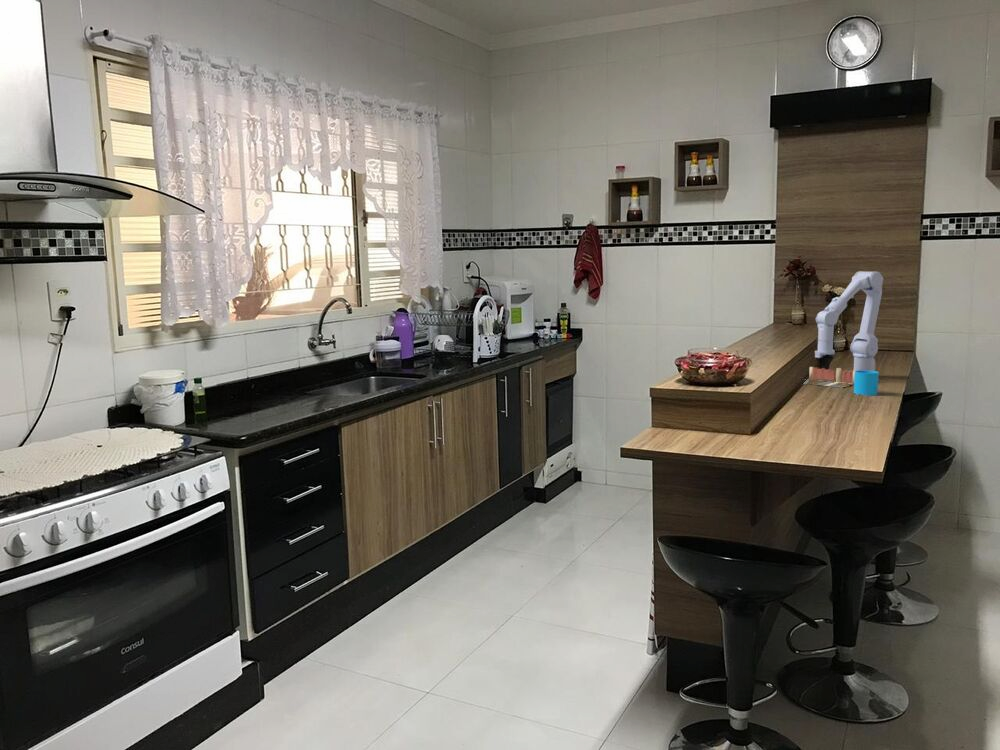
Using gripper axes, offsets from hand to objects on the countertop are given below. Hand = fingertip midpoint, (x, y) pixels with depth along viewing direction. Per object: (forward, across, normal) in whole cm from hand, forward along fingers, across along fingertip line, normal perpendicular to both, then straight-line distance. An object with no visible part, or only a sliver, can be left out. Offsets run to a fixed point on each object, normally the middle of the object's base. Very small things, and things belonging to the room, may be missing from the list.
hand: (823, 373), depth 333 cm
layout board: (+3, +2, +4) cm, 5 cm away
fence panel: (+2, +2, 0) cm, 3 cm away
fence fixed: (+3, +2, +10) cm, 11 cm away
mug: (+3, +18, +24) cm, 30 cm away
